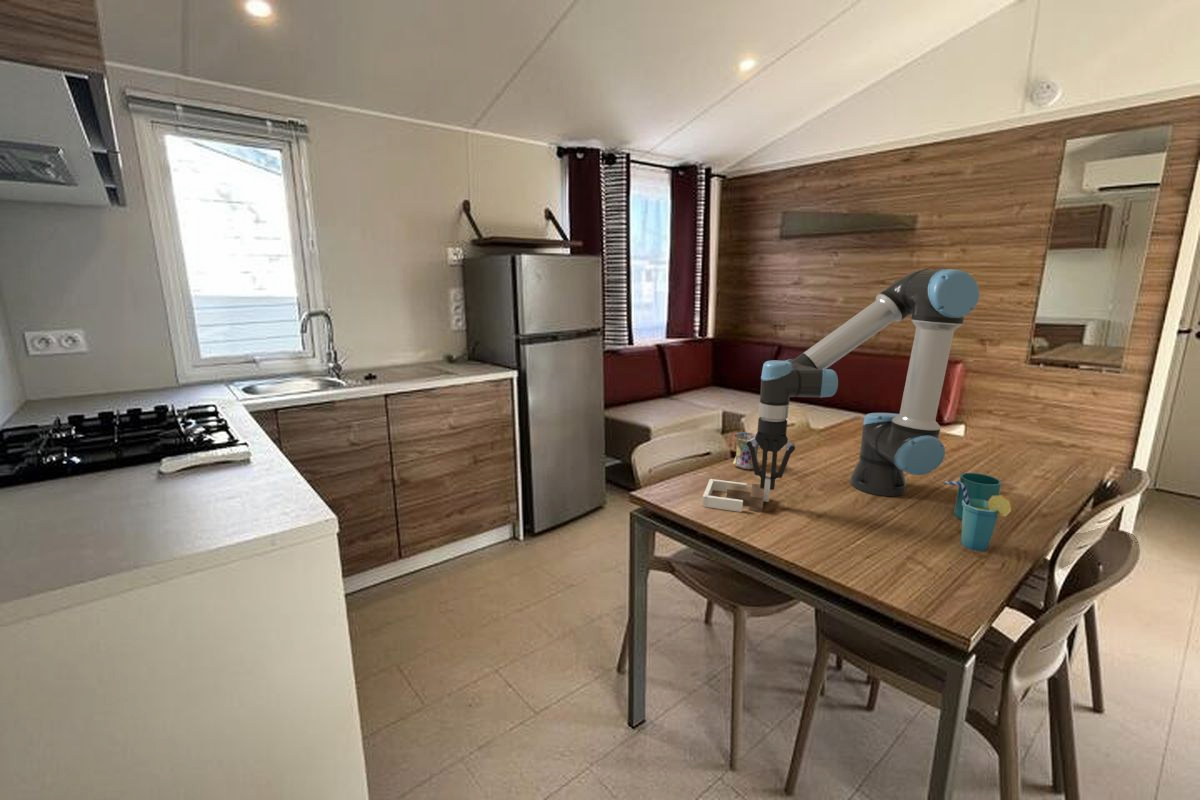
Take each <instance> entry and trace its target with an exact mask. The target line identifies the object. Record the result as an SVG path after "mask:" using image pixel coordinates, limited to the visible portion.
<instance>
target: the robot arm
mask: <svg viewBox="0 0 1200 800" xmlns="http://www.w3.org/2000/svg"><path fill="white" fill-rule="evenodd" d="M979 298H980V287H979V285H978V282H977V280H976V279H975V278H974V277H973V276H972V275H971V274H970V273H968V272H966V271H963V270H960V269H953V268H944V269H919V270H917V271H913V272H911V273H908V274H907V275H905V276H903V277H901V278H900V279H898V280H897V281H895V282H893V283H892V284H891V285H889V286H888V287H887V288H885V289H884V290H882V291H881V292H880V293H878V294H877V295H876V296H875V301H874V302H872V303H870V304H869V305H868V306H867V307H865V308H864V309H862V310H861V311H860V312H858V313H857V314H856V315H854V316H853V317H851V318H850V319H848V320H847V321H846V322H844V323H843V324H842V325H840V326H838V327H837V328H836V329H834V330H833V331H831V333H829V334H828V335H826V336H825V337H824V338H822V339H821V340H819V341H818V342H817V343H815V344H814V345H812V346H811V347H810V348H808V349H807V350H805V351H804V352H803V353H801V354H799V355H798V356H796V357H795V358H791V359H790V358H789V359H785V360H780V359H779V360H778V359H777V360H775V359H773V360H771V359H770V360H767V361H765V362H764V363H763V366H762V370H761V376H760V396H759V406H758V416H759V417H758V419H757V431H756V433H755V434H756V435H755V438H753V439H751V440H750V439H748V441H747V446H748V447H749V449H750V452H751V458H752V463H753V469H752V470H753V473H754V475H755V476H758V477H759V478H760V488H761V489H764V499H763V501H764V502H767V503H768V502H770V494H771V493H770V492H771V490H772V491H774V490H775V484H776V479H781V478H783V476H784V473H785V470H786V467H787V466H788V462H789V460H790V457H791V454H792V453H793V452H794V451H796V444H795V443H792V442H790V440H788V436H787V429H788V420H787V419H788V418H789V408H790V398H821V399H822V398H828V397H829V398H830V397H831V398H832V397H833V396H834V395H836V393H837V391H838V388H839V387H838V386H839V379H838V378H839V377H838V375H837V372H836V371H835V370H833V369H831V368H829V367H831V366H832V365H834V364H835V363H837V362H838V361H839V360H841V359H842V358H843V357H845V356H846V355H848V354H850V352H852V351H853V350H854V349H856V348H858V347H859V346H860V345H862V344H863V343H865V342H866V341H867V340H869V339H870V338H872V337H873V336H875V335H876V334H877V333H880V331H882V330H883V329H884V328H885V329H886V327H887V326H889V325H890V324H891V323H893V322H896V323H899V322H901V321H902V320H904V319H905V318H906V317H910V316H911V318H910V321H911V322H912V324H913V325H914V326H915V332H914V339H913V342H912V347H911V352H910V357H909V362H908V363H909V364H908V368H907V373H906V378H905V379H906V380H905V385H904V388H903V389H904V390H903V394H902V399H901V405H900V409H899V413H892V412H891V413H890V412H871V413H866V415H865V416H864V418H863V419H864V420H863V424H862V433H861V434H862V435H861V441H860V442H861V443H860V453H859V460H858V461H857V463H856V464H855V465H856V466H855V467H854V469H853V471H852V472H851V474H850V475H851V476H850V482H849V483H850V485H851V486H852V487H853V488H854V489H856V490H859V491H860V492H864V493H865V494H866V493H867V494H870V495H876V496H882V497H883V496H884V497H897V496H902V495H904V494H905V493H906V490H907V482H906V477H905V473H907V474H909V475H913V476H924V475H926V474H927V475H928V474H930V473H931V472H932V471H934V470H936V469H937V468H939V467H940V465H941V464H942V463H943V461H944V459H945V456H946V449H945V448H946V447H945V445H944V444H943V442H942V441H941V440H940V438H939V437H940V432H941V426H940V424H939V423H938V422H937V421H936V418H937V415H938V409H939V405H940V399H941V395H942V390H943V386H944V381H945V378H946V376H945V375H946V371H947V367H948V362H949V357H950V352H951V346H952V343H953V340H954V339H953V337H954V333H955V331H956V330H957V329H959V328H960V327H962V326H963V324H964V319H965V316H967V315H969V314H970V313H971V311H972V310H974V309H976V307H977V305H978V303H979V300H980V299H979ZM828 368H829V369H828ZM756 442H757V443H758V444H759V448H760V449H761V450H762V460H761V469H760V467H759V466H760V464H759V465H758V463H759V460H758V454H757V455H756V449H755V446H756ZM784 446H785V452H784V455H783V457H782V460H781V463H780V466H779V469H778V471H777V460H778V452H779V451H781V449H782V448H783V447H784ZM768 452H771V453H772V456H771V458H772V459H771V467H770V468H771V470H770V475H767V464H768V461H767V460H768V455H769V454H768ZM776 471H777V472H776Z"/></svg>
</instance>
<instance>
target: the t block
mask: <svg viewBox="0 0 1200 800" xmlns="http://www.w3.org/2000/svg"><path fill="white" fill-rule="evenodd" d="M726 498H731V499H738V500H743V506H748V510H749V511H753V512H760V513H763V509H764V502H765V501H763V499H764V489H761V488H760V484H757V483H752V484H751V487H749V486H747V487H743V486H735V485H728V488H727V492H726Z"/></svg>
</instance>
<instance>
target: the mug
mask: <svg viewBox="0 0 1200 800" xmlns="http://www.w3.org/2000/svg"><path fill="white" fill-rule="evenodd" d="M756 434H757V433H754V432H753V433H752V432H744V431H743V432H736V433H734V434H733V439H734V442H735V445H736V447H735V448H736V453H735V458H734V460H733V462H732V464H733V466H735V467H737V468H740V469H743V470H754V469H753V463H752V458H751V452H750V449H749V447H748V446H747V441H748V439H750V440H751V439H753V438H755V435H756ZM759 448H760V446H759V444H758V443H757V442H756V446H755V449H756V455H757V456H758V450H759ZM758 465H759V466H760V463H759V462H758Z"/></svg>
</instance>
